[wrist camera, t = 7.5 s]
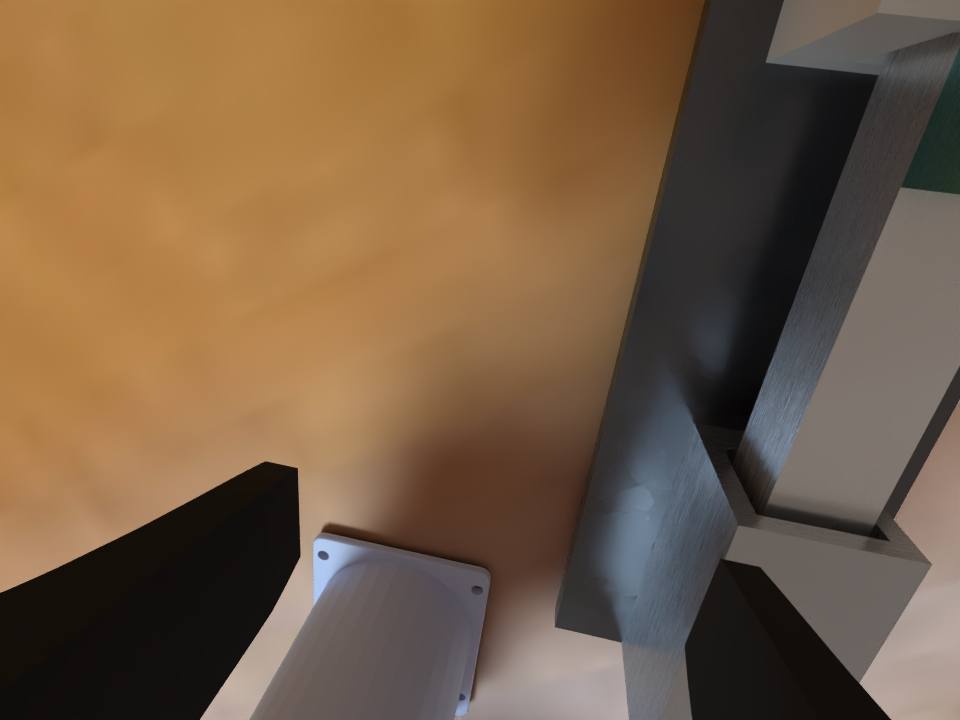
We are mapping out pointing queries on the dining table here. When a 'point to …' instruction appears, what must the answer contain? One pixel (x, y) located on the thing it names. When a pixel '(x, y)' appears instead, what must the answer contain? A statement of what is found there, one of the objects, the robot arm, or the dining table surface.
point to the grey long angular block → (726, 377)
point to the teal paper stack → (869, 311)
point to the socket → (856, 31)
